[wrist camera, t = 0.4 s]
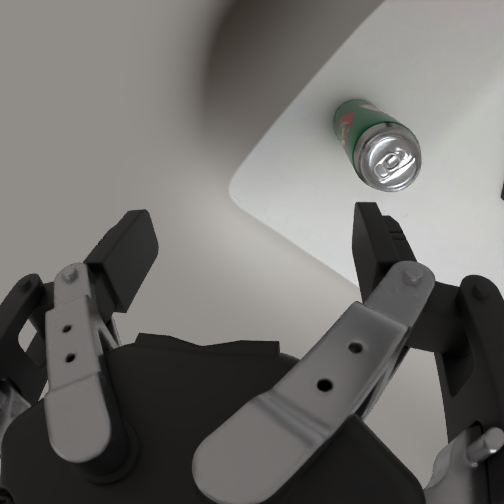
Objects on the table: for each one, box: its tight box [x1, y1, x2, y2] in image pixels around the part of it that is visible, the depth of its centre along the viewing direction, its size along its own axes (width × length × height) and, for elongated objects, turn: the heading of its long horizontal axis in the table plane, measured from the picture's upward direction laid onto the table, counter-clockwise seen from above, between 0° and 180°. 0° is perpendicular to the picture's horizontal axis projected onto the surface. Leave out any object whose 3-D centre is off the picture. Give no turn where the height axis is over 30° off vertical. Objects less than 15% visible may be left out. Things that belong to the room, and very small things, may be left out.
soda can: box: [333, 100, 421, 192], centre depth 23 cm, size 5×5×12 cm
